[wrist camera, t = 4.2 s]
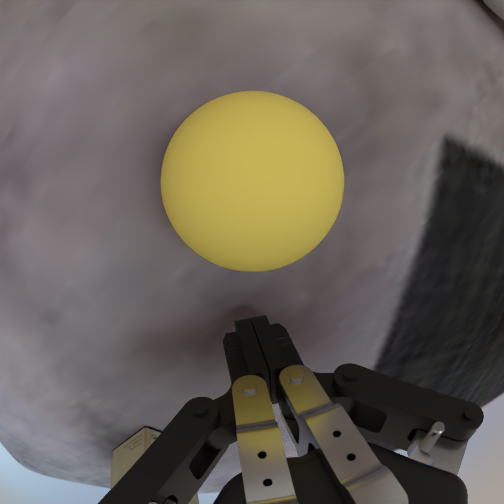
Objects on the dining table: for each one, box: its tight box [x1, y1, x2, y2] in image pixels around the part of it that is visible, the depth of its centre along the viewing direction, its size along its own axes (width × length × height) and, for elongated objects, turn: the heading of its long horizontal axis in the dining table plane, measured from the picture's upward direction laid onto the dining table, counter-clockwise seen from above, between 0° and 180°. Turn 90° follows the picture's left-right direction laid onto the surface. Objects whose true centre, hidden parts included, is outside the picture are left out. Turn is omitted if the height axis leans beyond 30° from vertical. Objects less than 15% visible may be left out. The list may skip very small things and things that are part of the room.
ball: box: [161, 91, 344, 272], centre depth 10 cm, size 6×6×6 cm
